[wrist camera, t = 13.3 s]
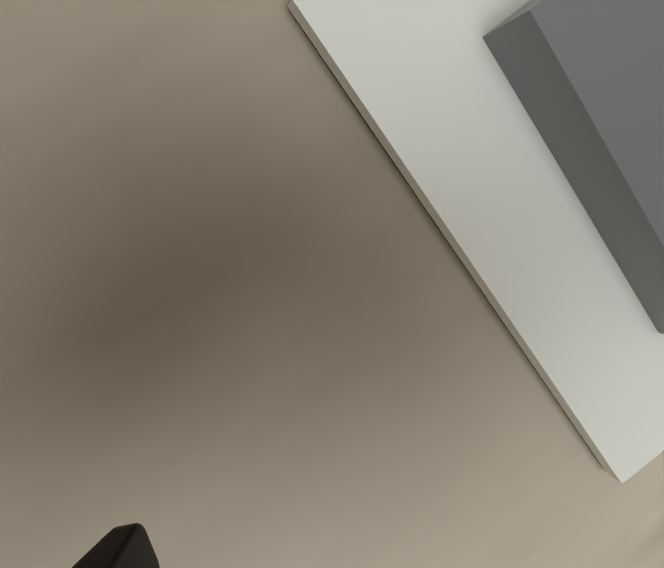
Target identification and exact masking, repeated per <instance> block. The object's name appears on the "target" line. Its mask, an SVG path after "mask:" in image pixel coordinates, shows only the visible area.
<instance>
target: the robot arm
mask: <svg viewBox="0 0 664 568" xmlns="http://www.w3.org/2000/svg"><path fill="white" fill-rule="evenodd" d="M72 568H160V567H159V562H158V559H157V557H156V554H155V552H154V550H153V547H152V545H151V542H150V540H149V537H148V535H147V533H146V530H145V528H144V527H143V526H142V525H141V524H139V523H133V524H128V525H123V526H118V527H115V528H113V529H112V530H111V531H110V532H109V533H108V534H107V535H106V536H104V537H103V538H102V539H101V540H100V541H99V542H98V543H97V544H96V545H95V546H94V547H93V548H92V549H91V550H90V551H89V552H88V553H87V554H85V555H84V556H83V557H82V558H81V559H80V560H79V561H78V562H77V563H76V564H75V565H74V566H73V567H72Z"/></svg>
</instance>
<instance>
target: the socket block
mask: <svg viewBox="0 0 664 568" xmlns="http://www.w3.org/2000/svg"><path fill="white" fill-rule="evenodd" d="M288 8H289V10H290V11H291V13H292V14H293V16H294V17H295V18H296V20H297V21H298V23H299V24H300V26H301V27H302V29H303V30H304V32H305V33H306V35H307V36H308V37H309V39H310V40H311V42H312V43H313V45H314V46H315V48H316V49H317V51H318V52H319V53H320V55H321V56H322V58H323V59H324V61H325V62H326V64H327V65H328V67H329V68H330V70H331V71H332V72H333V74H334V75H335V77H336V78H337V80H338V81H339V83H340V84H341V86H342V87H343V89H344V90H345V91H346V93H347V94H348V96H349V97H350V99H351V100H352V102H353V103H354V105H355V106H356V108H357V109H358V110H359V112H360V113H361V115H362V116H363V118H364V119H365V121H366V122H367V124H368V125H369V127H370V128H371V129H372V131H373V132H374V134H375V135H376V137H377V138H378V140H379V141H380V143H381V144H382V145H383V147H384V148H385V150H386V151H387V153H388V154H389V156H390V157H391V159H392V160H393V162H394V163H395V164H396V166H397V167H398V169H399V170H400V172H401V173H402V175H403V176H404V178H405V179H406V181H407V182H408V183H409V185H410V186H411V188H412V189H413V191H414V192H415V194H416V195H417V197H418V198H419V200H420V201H421V202H422V204H423V205H424V207H425V208H426V210H427V211H428V213H429V214H430V216H431V217H432V219H433V220H434V221H435V223H436V224H437V226H438V227H439V229H440V230H441V232H442V233H443V235H444V236H445V237H446V239H447V240H448V242H449V243H450V245H451V246H452V248H453V249H454V251H455V252H456V254H457V255H458V256H459V258H460V259H461V261H462V262H463V264H464V265H465V267H466V268H467V270H468V271H469V273H470V274H471V275H472V277H473V278H474V280H475V281H476V283H477V284H478V286H479V287H480V289H481V290H482V292H483V293H484V294H485V296H486V297H487V299H488V300H489V302H490V303H491V305H492V306H493V308H494V309H495V310H496V312H497V313H498V315H499V316H500V318H501V319H502V321H503V322H504V324H505V325H506V327H507V328H508V329H509V331H510V332H511V334H512V335H513V337H514V338H515V340H516V341H517V343H518V344H519V346H520V347H521V348H522V350H523V351H524V353H525V354H526V356H527V357H528V359H529V360H530V362H531V363H532V365H533V366H534V367H535V369H536V370H537V372H538V373H539V375H540V376H541V378H542V379H543V381H544V382H545V384H546V385H547V386H548V388H549V389H550V391H551V392H552V394H553V395H554V397H555V398H556V400H557V401H558V402H559V404H560V405H561V407H562V408H563V410H564V411H565V413H566V414H567V416H568V417H569V419H570V420H571V421H572V423H573V424H574V426H575V427H576V429H577V430H578V432H579V433H580V435H581V436H582V438H583V439H584V440H585V442H586V443H587V445H588V446H589V448H590V449H591V451H592V452H593V454H594V455H595V457H596V458H597V459H598V461H599V462H600V464H601V465H602V467H603V468H604V470H605V471H606V472H607V473H608V474H610V475H611V476H612V477H613V478H615V479H616V480H617V481H619V482H620V483H621V484H623V483H624V482H625V481H626V480H627V479H629V478H630V477H631V476H632V475H634V474H635V473H636V472H637V471H639V470H640V469H641V468H642V467H644V466H645V465H646V464H647V463H649V462H650V461H651V460H652V459H653V458H655V457H656V456H657V455H658V454H660V453H661V452H662V451H663V450H664V0H290V1H289V4H288Z"/></svg>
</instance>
